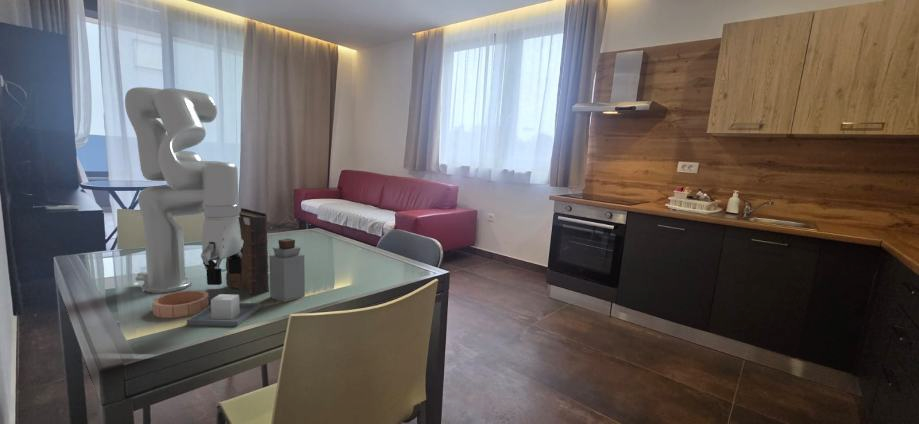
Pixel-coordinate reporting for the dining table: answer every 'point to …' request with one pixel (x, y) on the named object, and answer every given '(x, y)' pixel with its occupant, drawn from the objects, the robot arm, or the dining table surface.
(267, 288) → the book
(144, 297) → the dining table surface
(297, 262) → the perfume bottle
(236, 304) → the white cube
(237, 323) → the tray
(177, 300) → the terracotta bowl
